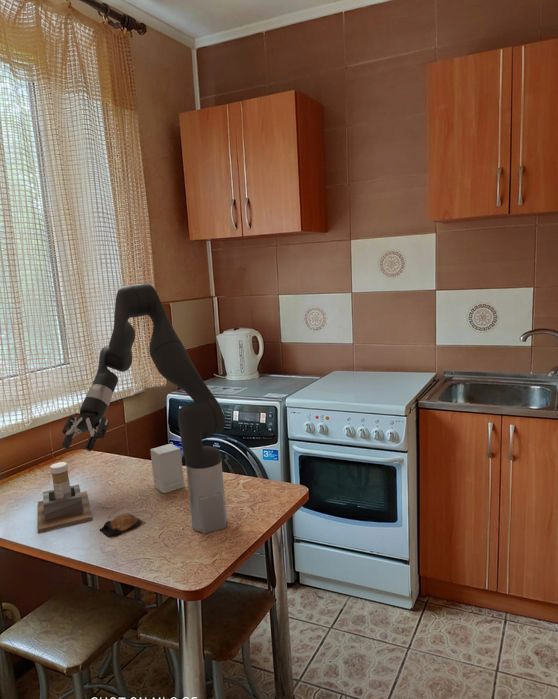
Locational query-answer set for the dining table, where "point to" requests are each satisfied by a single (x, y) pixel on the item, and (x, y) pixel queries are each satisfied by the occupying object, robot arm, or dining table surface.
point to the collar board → (63, 510)
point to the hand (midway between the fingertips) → (76, 449)
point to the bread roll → (121, 525)
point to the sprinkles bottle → (60, 480)
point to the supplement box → (167, 468)
